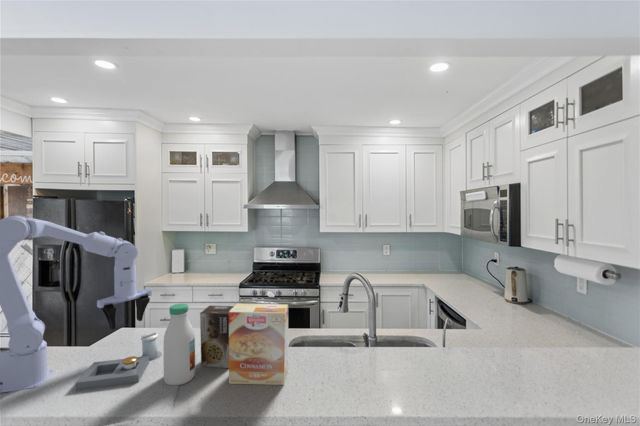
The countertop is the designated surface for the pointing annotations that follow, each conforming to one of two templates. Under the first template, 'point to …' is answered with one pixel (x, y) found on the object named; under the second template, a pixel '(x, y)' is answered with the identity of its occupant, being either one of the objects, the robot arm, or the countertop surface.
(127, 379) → the grey flat block
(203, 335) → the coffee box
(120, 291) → the robot arm
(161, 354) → the pad
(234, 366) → the coffeecake box
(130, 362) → the plunger
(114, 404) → the countertop surface
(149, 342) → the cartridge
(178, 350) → the milk bottle
